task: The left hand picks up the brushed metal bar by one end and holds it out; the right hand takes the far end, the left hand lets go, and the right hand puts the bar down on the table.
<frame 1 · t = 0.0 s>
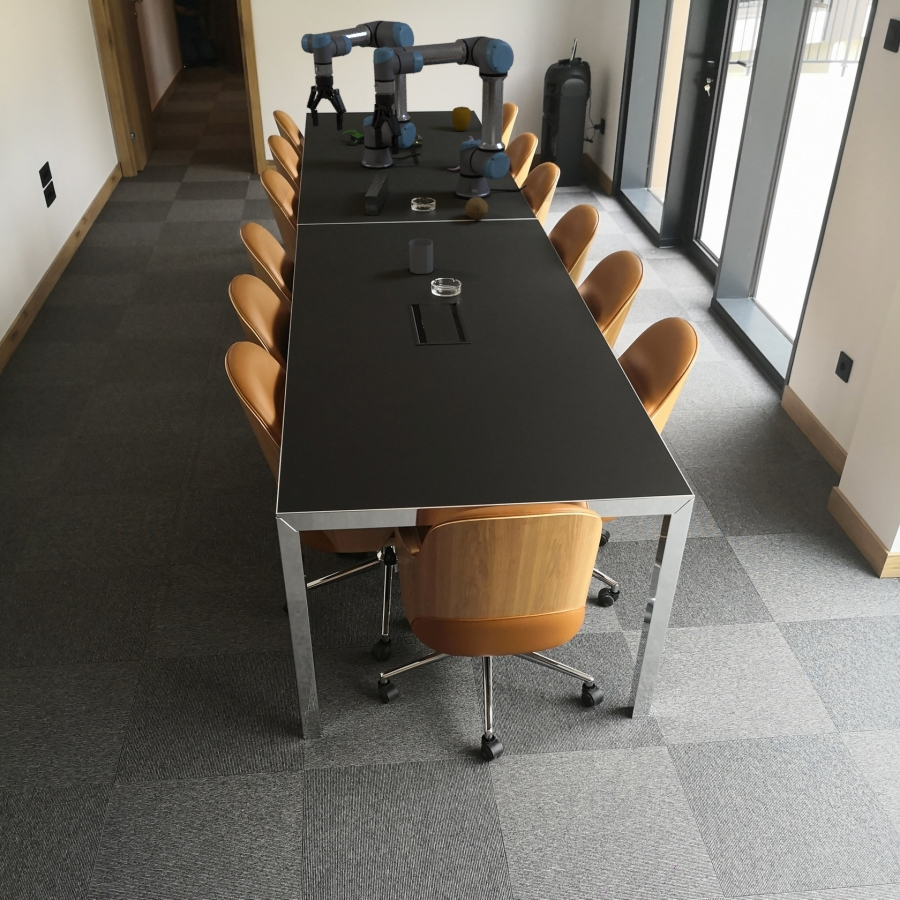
left hand: (327, 128, 372), 28 cm above the table, tool pointing down, fingers open, 13 cm apart
right hand: (386, 150, 340), 28 cm above the table, tool pointing down, fingers open, 13 cm apart
bar: (377, 203, 375), on the table
potato: (476, 218, 357), on the table
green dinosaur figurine: (368, 143, 466), on the table
cup: (421, 270, 308), on the table
toy: (463, 171, 418), on the table
yellow bell pepper: (461, 130, 491), on the table
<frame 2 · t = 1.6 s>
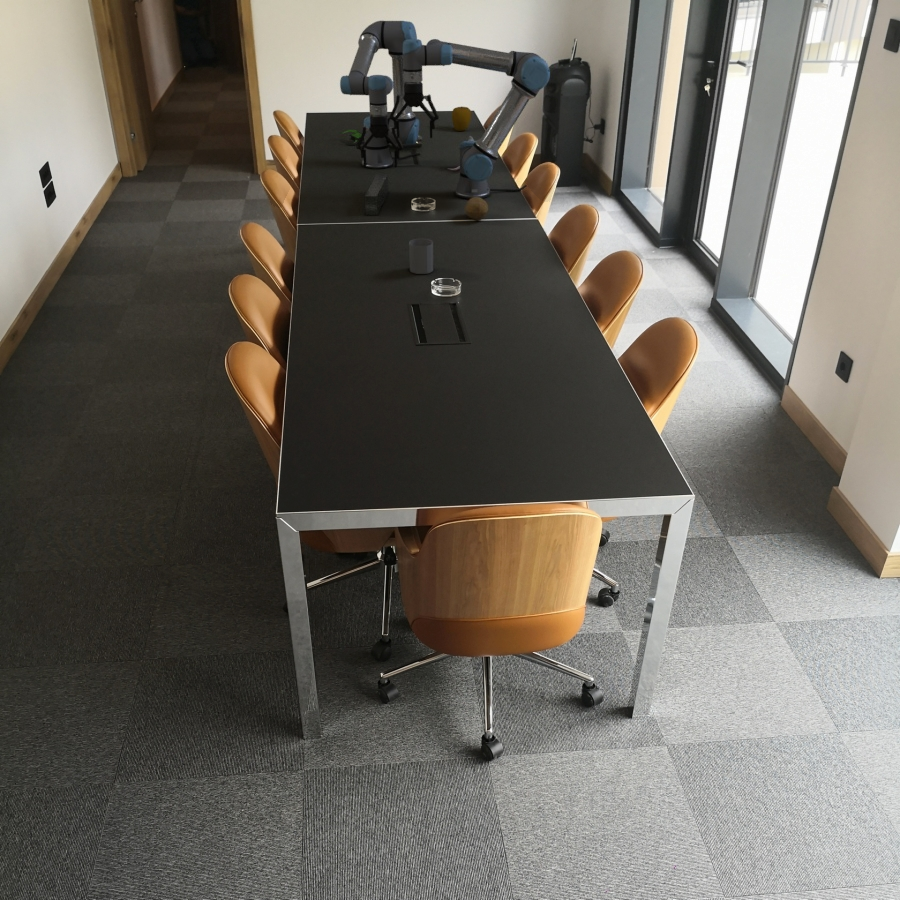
left hand: (380, 166, 379), 12 cm above the table, tool pointing down, fingers open, 13 cm apart
right hand: (414, 137, 358), 28 cm above the table, tool pointing down, fingers open, 13 cm apart
nothing on the table moved.
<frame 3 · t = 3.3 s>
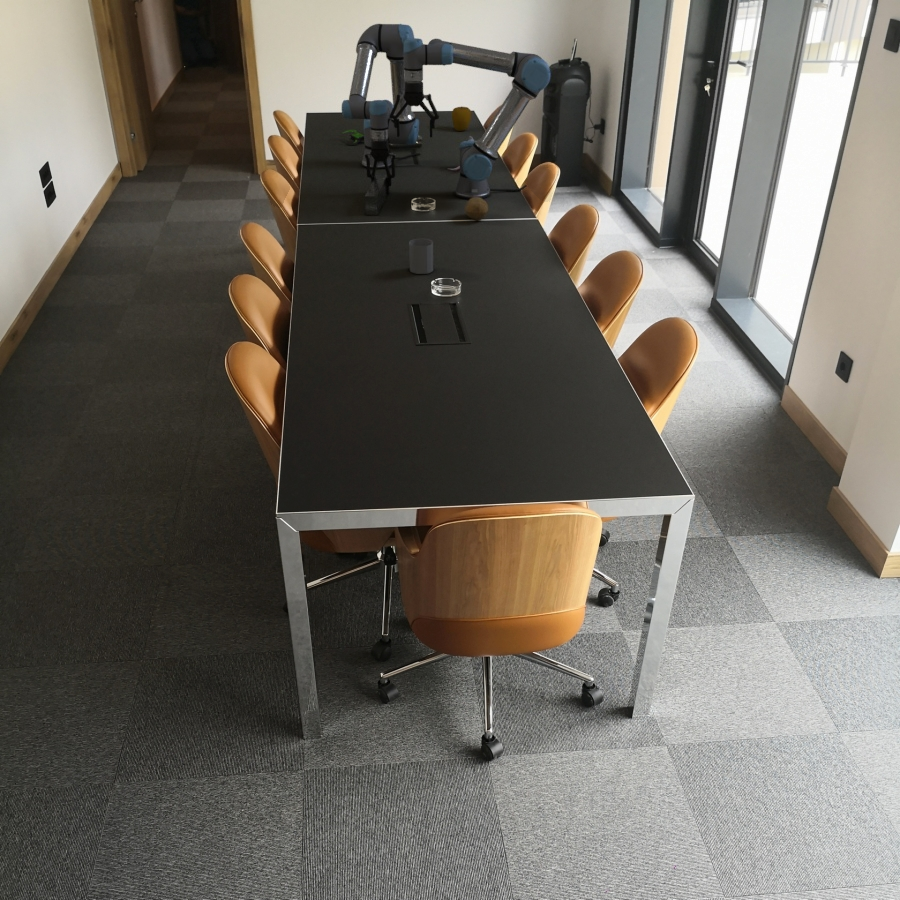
left hand: (381, 193, 386), 1 cm above the table, tool pointing down, fingers closed on bar, 5 cm apart
right hand: (414, 136, 358), 28 cm above the table, tool pointing down, fingers open, 13 cm apart
bar: (377, 203, 375), on the table, touching left hand
everything else where it was.
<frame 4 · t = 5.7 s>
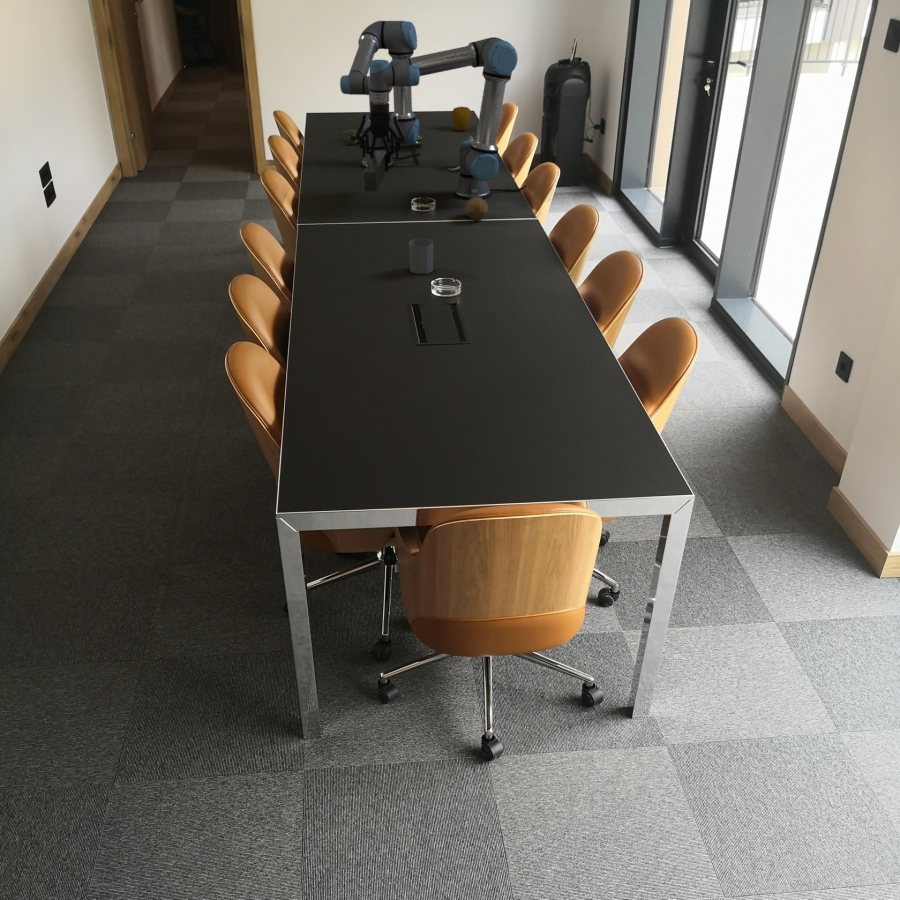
left hand: (381, 170, 381), 11 cm above the table, tool pointing down, fingers closed on bar, 5 cm apart
right hand: (380, 157, 355), 22 cm above the table, tool pointing down, fingers open, 13 cm apart
bar: (376, 180, 370), point 10 cm above the table, touching left hand
everything else where it was.
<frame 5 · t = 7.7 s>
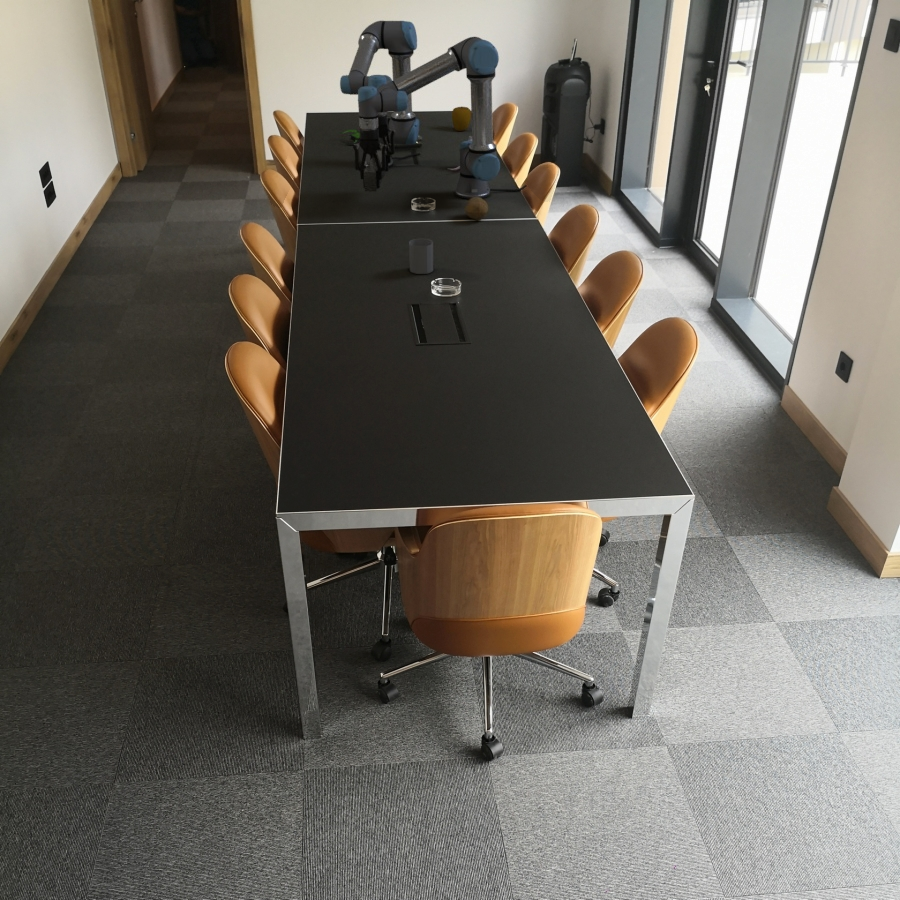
left hand: (381, 170, 381), 11 cm above the table, tool pointing down, fingers closed on bar, 5 cm apart
right hand: (371, 187, 358), 11 cm above the table, tool pointing down, fingers closed on bar, 5 cm apart
bar: (376, 180, 370), point 10 cm above the table, touching left hand, right hand
everything else where it was.
when the left hand's fingers open (11 cm above the table, at t = 8.4 s): bar stays where it is, held by the right hand.
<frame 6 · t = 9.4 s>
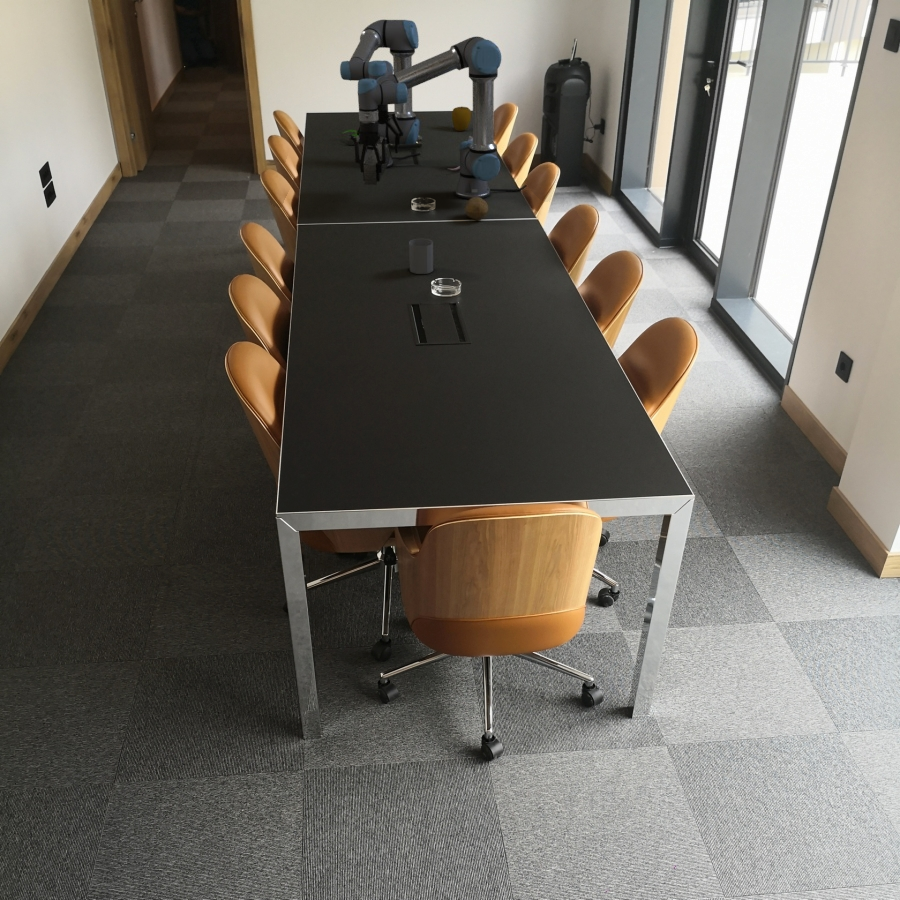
left hand: (381, 152, 379), 18 cm above the table, tool pointing down, fingers open, 13 cm apart
right hand: (371, 180, 357), 13 cm above the table, tool pointing down, fingers closed on bar, 5 cm apart
bar: (377, 173, 368), point 13 cm above the table, touching right hand
everything else where it was.
when the right hand's fingers open (2 cm above the table, at t = 11.9 s): bar drops 1 cm, on the table.
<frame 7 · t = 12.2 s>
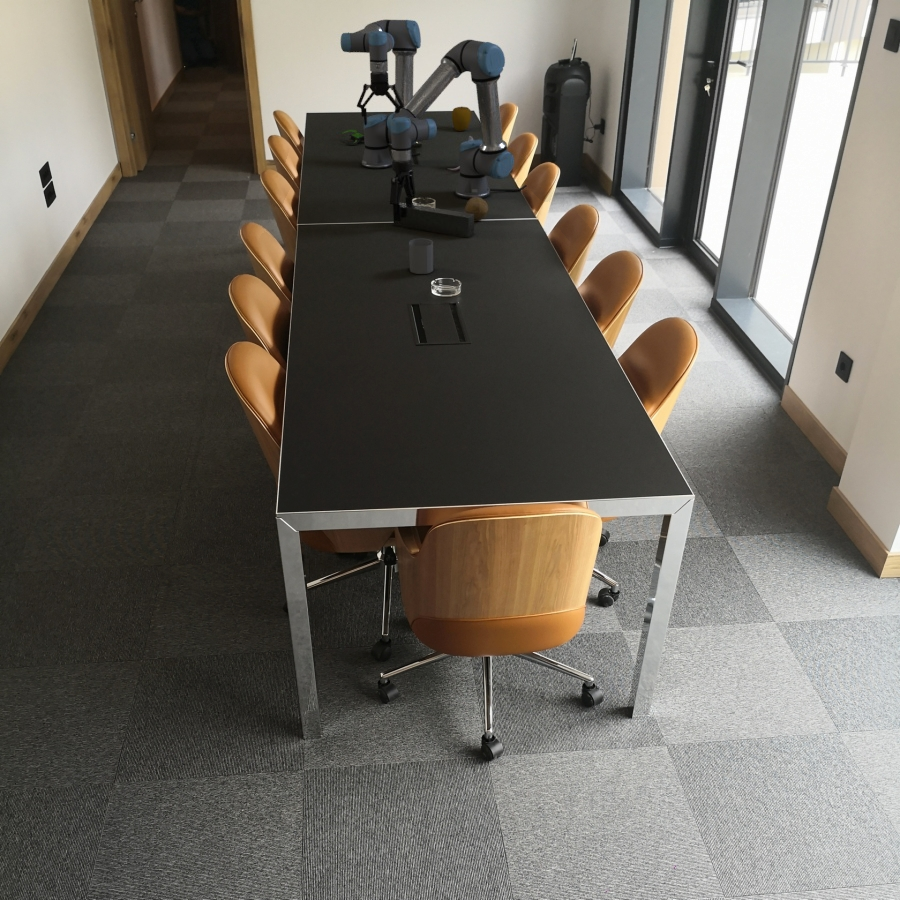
left hand: (381, 124, 376), 28 cm above the table, tool pointing down, fingers open, 13 cm apart
right hand: (403, 217, 349), 3 cm above the table, tool pointing down, fingers open, 9 cm apart
bar: (433, 229, 345), on the table
everything else where it was.
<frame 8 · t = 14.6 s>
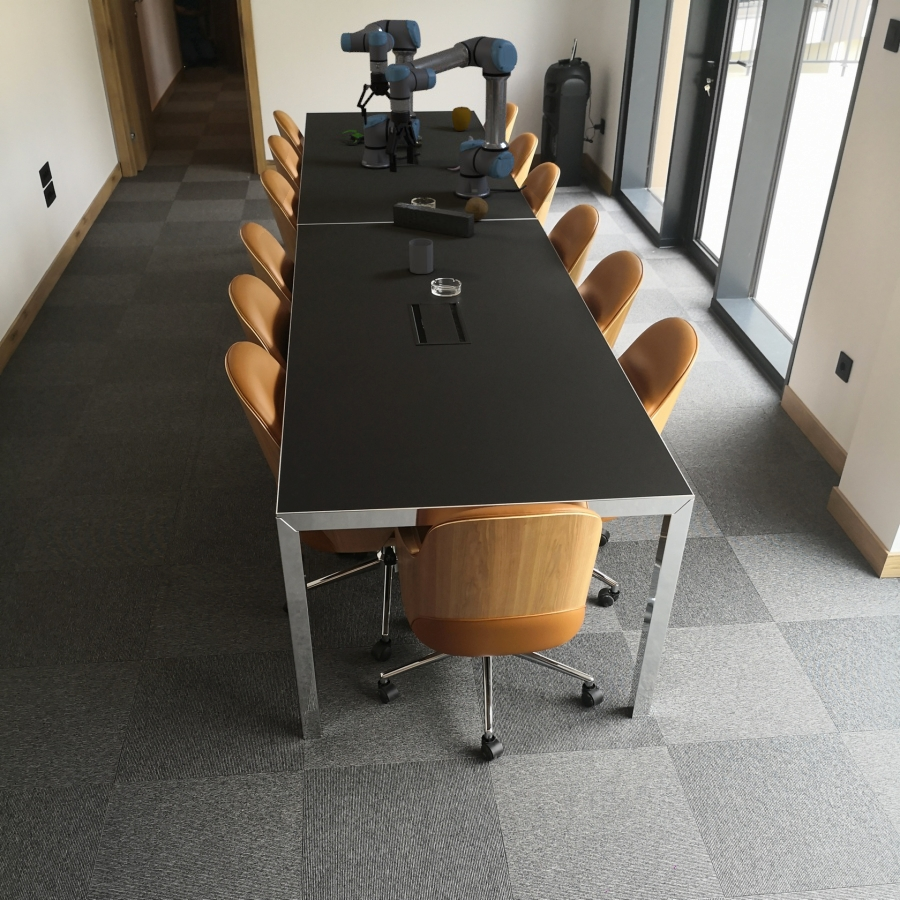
left hand: (381, 124, 376), 28 cm above the table, tool pointing down, fingers open, 13 cm apart
right hand: (401, 167, 338), 23 cm above the table, tool pointing down, fingers open, 13 cm apart
nothing on the table moved.
at the end: bar inside the target area (13.4 cm from its centre), on the table; the left hand is holding nothing; the right hand is holding nothing; bar at rest at the end (0.0 cm/s) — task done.
